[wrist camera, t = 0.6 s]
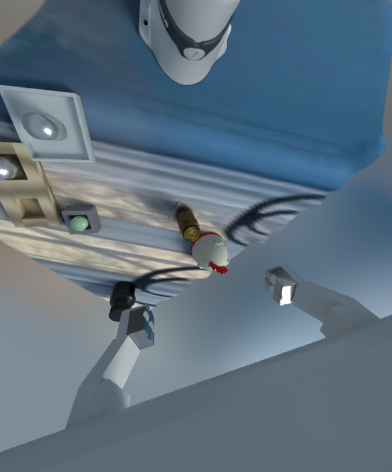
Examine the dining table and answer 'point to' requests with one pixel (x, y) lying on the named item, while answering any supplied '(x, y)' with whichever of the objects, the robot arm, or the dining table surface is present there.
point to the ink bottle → (122, 299)
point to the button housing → (82, 210)
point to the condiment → (186, 221)
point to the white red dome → (210, 252)
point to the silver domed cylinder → (10, 167)
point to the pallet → (28, 191)
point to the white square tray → (53, 106)
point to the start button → (79, 222)
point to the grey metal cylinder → (44, 127)
